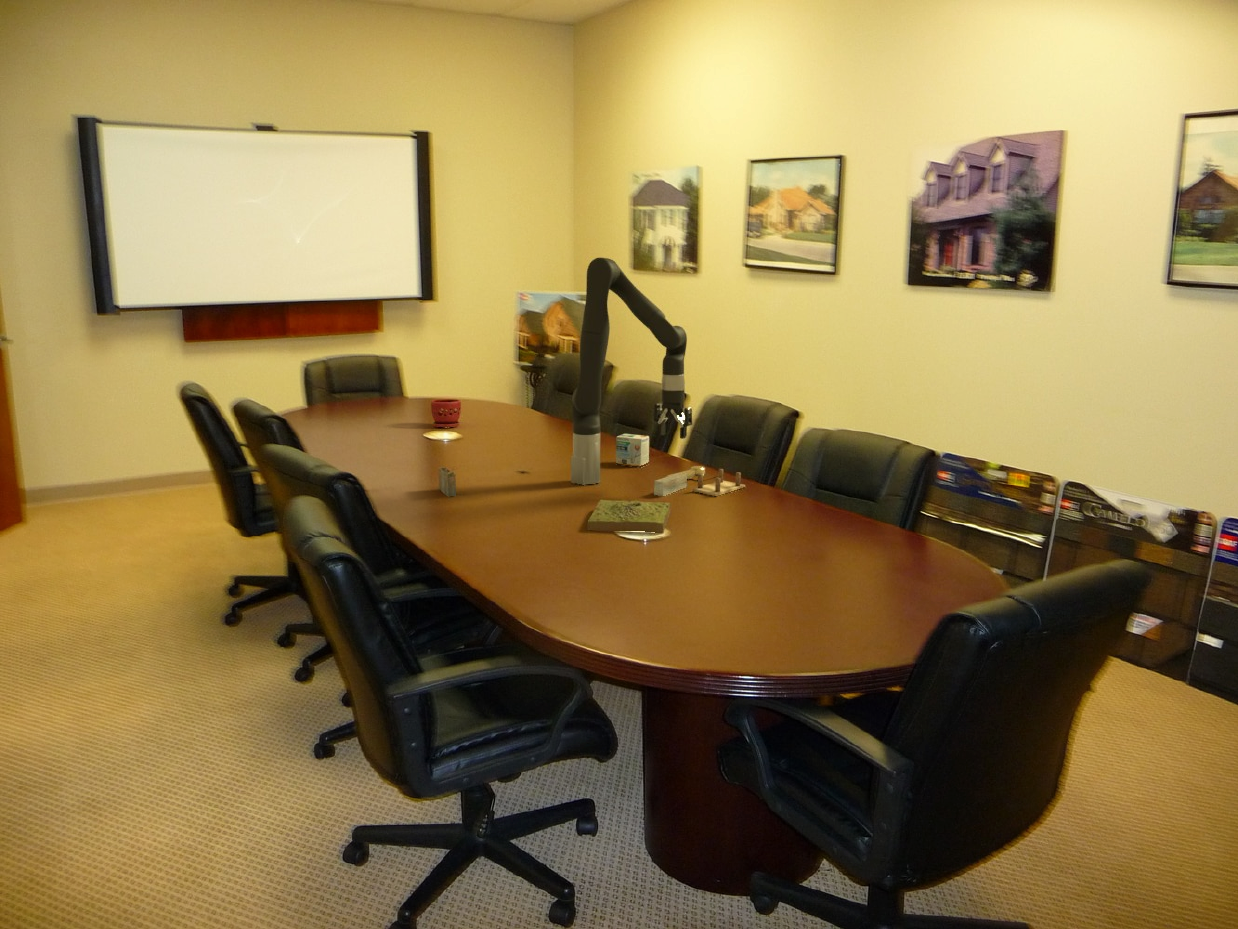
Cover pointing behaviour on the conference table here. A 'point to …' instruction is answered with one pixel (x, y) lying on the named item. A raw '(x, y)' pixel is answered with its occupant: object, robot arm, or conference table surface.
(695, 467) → the beige long bar
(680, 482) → the grey rectangular block
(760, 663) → the conference table surface
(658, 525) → the miniature landscape model
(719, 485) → the peg rack
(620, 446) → the light bulb box
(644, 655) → the conference table surface
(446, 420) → the plant pot
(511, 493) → the conference table surface
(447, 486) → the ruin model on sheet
